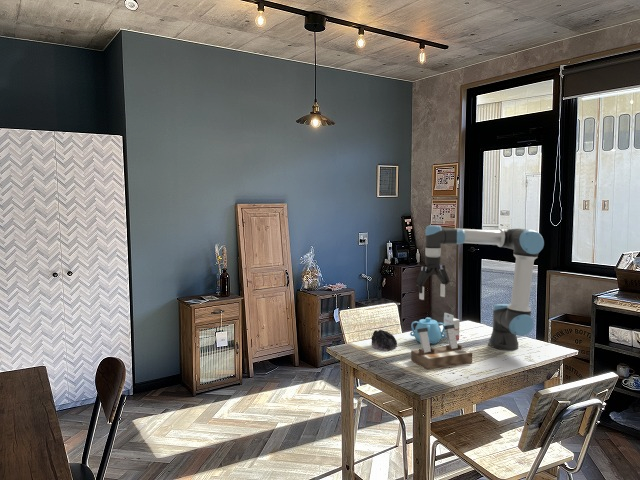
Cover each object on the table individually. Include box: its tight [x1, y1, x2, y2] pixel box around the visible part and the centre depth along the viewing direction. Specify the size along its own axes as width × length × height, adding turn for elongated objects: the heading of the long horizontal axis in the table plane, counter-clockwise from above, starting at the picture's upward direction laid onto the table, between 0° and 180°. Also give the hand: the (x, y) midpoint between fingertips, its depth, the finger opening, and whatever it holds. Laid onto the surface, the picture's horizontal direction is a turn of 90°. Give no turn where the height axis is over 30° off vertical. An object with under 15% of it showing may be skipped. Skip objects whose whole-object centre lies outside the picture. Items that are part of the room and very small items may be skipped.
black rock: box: [371, 329, 398, 352], centre depth 262 cm, size 13×14×10 cm
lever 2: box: [444, 325, 458, 349], centre depth 244 cm, size 5×2×12 cm, turn 112°
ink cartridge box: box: [442, 312, 461, 341], centre depth 277 cm, size 9×5×15 cm, turn 25°
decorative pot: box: [409, 316, 446, 345], centre depth 272 cm, size 16×16×14 cm
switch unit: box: [410, 343, 473, 371], centre depth 238 cm, size 26×14×7 cm, turn 112°
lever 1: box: [417, 328, 432, 352], centre depth 238 cm, size 5×2×12 cm, turn 112°
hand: (432, 298), depth 244 cm, fingers open, 13 cm apart
